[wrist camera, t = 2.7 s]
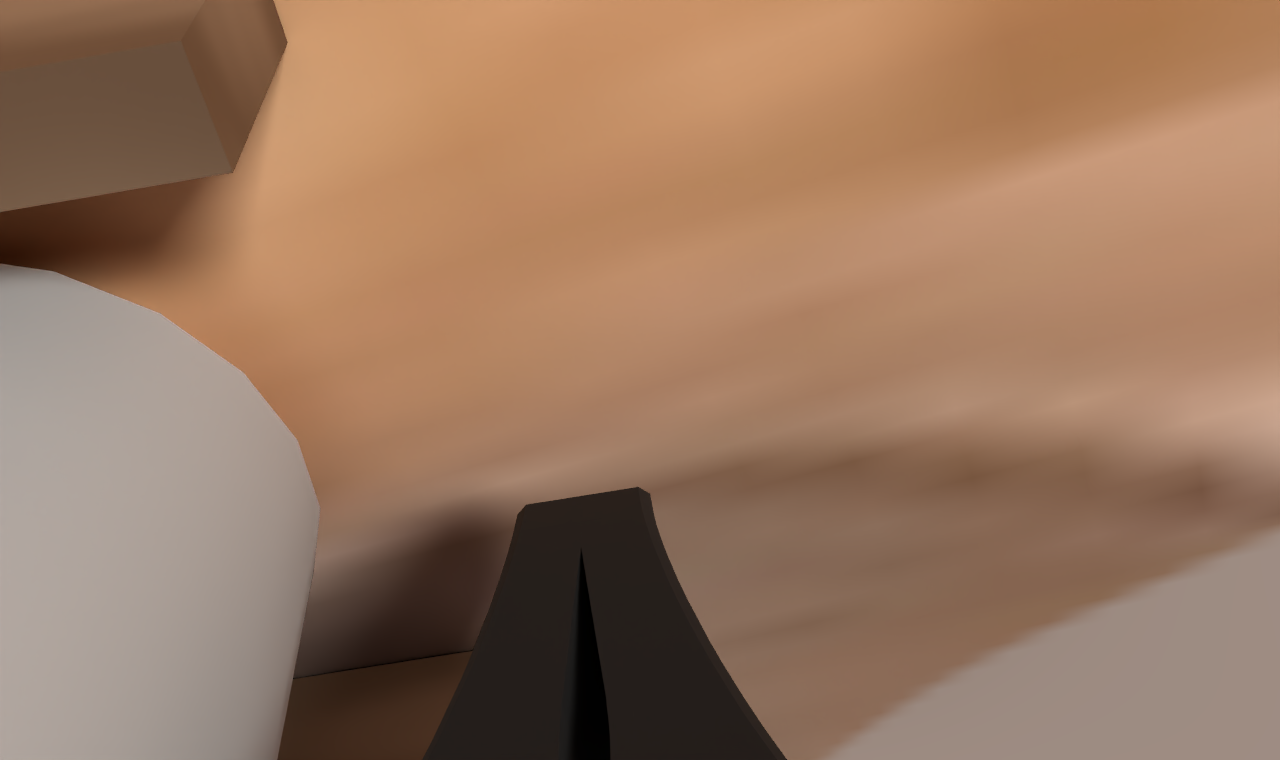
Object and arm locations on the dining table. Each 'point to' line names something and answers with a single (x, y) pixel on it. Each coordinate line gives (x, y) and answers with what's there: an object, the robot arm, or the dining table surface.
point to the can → (141, 537)
